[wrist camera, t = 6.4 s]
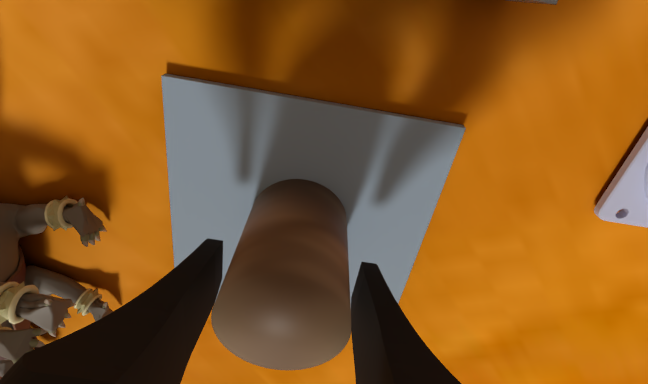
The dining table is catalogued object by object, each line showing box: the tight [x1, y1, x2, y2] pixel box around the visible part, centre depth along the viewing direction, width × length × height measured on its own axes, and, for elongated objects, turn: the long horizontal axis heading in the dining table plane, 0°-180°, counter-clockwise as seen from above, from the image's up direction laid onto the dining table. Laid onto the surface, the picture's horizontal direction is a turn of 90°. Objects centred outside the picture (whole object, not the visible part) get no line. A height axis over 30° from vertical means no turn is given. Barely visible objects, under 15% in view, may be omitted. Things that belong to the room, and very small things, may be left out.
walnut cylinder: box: [211, 179, 351, 370], centre depth 14 cm, size 4×4×6 cm
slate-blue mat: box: [162, 74, 466, 305], centre depth 17 cm, size 12×12×1 cm
